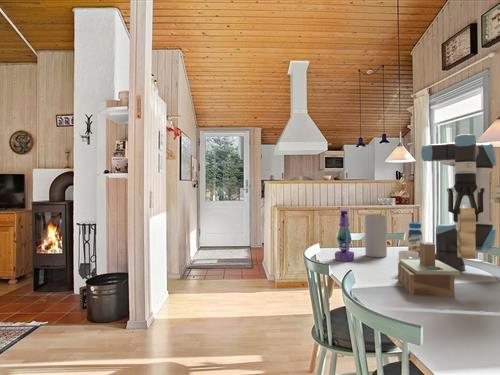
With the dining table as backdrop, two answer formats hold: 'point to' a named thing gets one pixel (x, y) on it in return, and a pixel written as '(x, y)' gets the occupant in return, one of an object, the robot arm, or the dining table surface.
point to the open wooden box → (425, 283)
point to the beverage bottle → (414, 237)
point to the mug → (408, 255)
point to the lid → (428, 262)
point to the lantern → (344, 239)
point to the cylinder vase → (376, 235)
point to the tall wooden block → (466, 234)
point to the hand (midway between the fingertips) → (465, 229)
